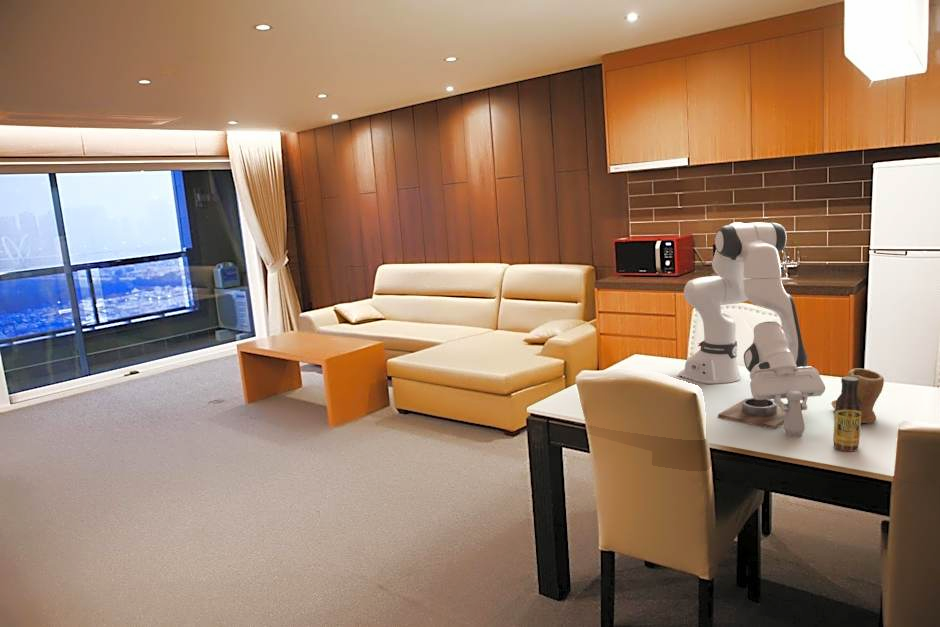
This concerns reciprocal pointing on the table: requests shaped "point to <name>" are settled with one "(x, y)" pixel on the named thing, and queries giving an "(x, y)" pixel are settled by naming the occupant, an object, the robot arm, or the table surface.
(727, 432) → the table surface
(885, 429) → the table surface
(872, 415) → the stone cup
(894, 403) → the table surface
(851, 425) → the sauce bottle
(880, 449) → the table surface
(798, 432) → the salt shaker
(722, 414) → the keeper plate
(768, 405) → the keeper collar
